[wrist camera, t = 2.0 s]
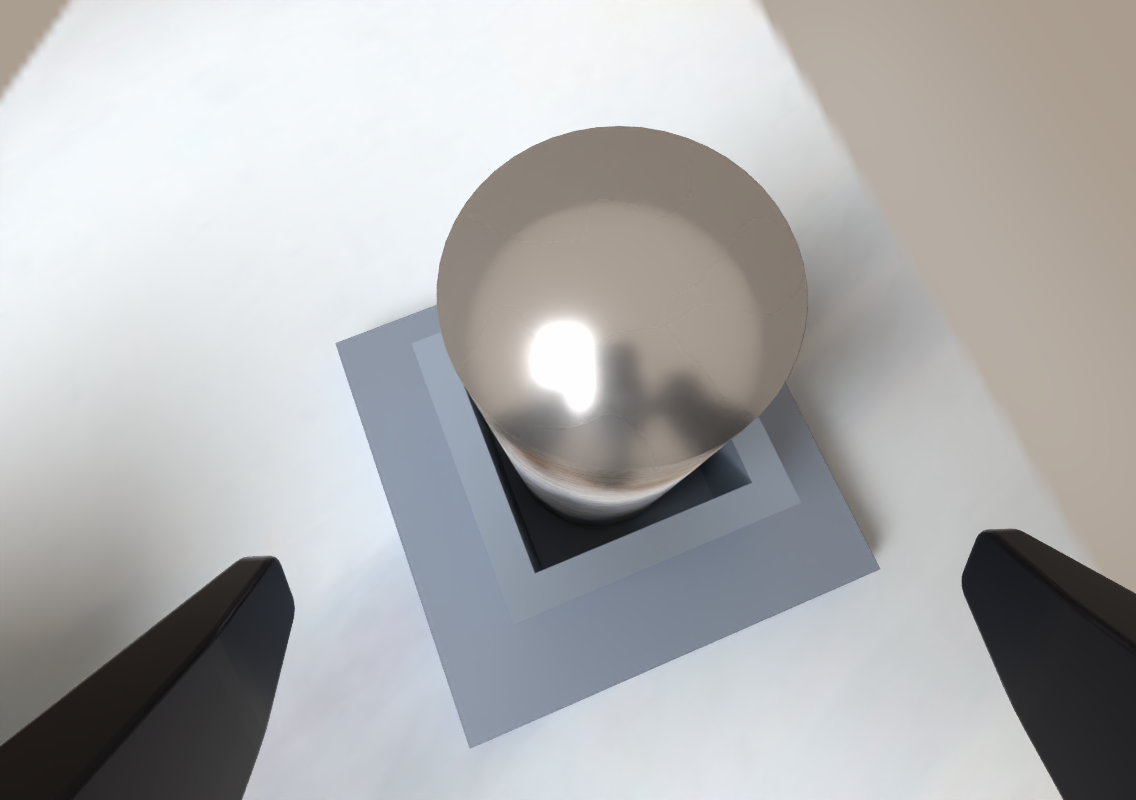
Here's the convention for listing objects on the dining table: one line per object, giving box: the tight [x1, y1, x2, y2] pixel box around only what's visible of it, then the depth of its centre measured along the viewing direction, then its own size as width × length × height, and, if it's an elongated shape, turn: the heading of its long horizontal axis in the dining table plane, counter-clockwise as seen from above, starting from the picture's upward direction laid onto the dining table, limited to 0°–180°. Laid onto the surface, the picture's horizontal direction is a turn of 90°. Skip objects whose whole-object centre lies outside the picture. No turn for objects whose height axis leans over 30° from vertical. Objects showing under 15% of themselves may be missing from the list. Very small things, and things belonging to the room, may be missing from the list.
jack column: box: [437, 126, 808, 527], centre depth 13 cm, size 4×4×11 cm
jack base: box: [336, 305, 880, 748], centre depth 17 cm, size 12×12×5 cm
